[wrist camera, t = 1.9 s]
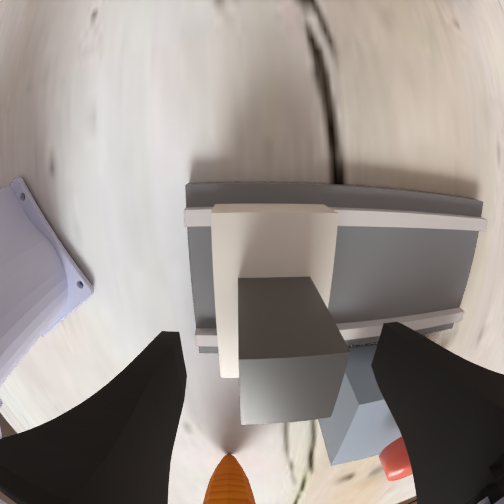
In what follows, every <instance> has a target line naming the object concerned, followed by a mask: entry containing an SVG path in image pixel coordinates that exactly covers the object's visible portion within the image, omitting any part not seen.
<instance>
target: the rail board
mask: <svg viewBox="0 0 504 504" xmlns="http://www.w3.org/2000/svg"><path fill="white" fill-rule="evenodd" d="M185 186H186V208H185V209H184V225H185V227H187V229H188V245H189V258H190V271H191V282H192V293H193V303H194V312H195V321H196V332H195V340H196V346H199V353H219V351H218V339H217V326H216V311H215V296H214V279H213V259H212V236H211V211H212V209H213V207H214V205H215V204H324V205H326V206H327V207H329V208H331V209H332V210H334V211H336V212H337V213H338V226H337V237H336V248H335V257H334V266H333V274H332V282H331V290H330V297H329V304H328V310H329V312H330V314H331V316H332V318H333V320H334V321H335V323H336V325H337V327H338V329H339V331H340V333H341V335H342V337H343V338H344V340H345V342H346V344H347V346H353V345H361V344H368V343H376V342H378V341H379V338H380V334H381V331H382V327H383V323H389V322H399V323H401V324H403V325H405V326H407V327H409V328H411V329H413V330H414V331H416V332H418V333H419V334H421V335H422V334H427V333H432V332H437V331H442V330H446V329H450V328H452V327H453V324H454V322H458V321H461V320H462V317H463V314H464V311H463V310H462V309H461V308H460V304H461V301H462V298H463V294H464V291H465V288H466V284H467V280H468V277H469V273H470V269H471V265H472V261H473V257H474V252H475V248H476V243H477V238H478V232H479V231H486V226H487V219H484V218H482V217H481V214H482V206H483V202H482V201H479V200H476V199H472V198H465V197H459V196H452V195H445V194H438V193H430V192H422V191H413V190H404V189H394V188H384V187H372V186H359V185H344V184H325V183H300V182H205V183H188V184H186V185H185Z"/></svg>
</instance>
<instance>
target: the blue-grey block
mask: <svg viewBox="0 0 504 504" xmlns="http://www.w3.org/2000/svg"><path fill="white" fill-rule="evenodd" d="M424 337H425V336H424ZM376 348H377V344H373V345H366V346H359V347H351V348H349V350H350V356H349V359H348V363H347V367H346V370H345V374H344V377H343V381H342V384H341V388H340V391H339V394H338V397H337V401H336V404H335V407H334V410H333V413H332V416H331V417H329V418H322V419H318V420H319V424H320V427H321V431H322V435H323V438H324V442H325V446H326V449H327V453H328V457H329V460H330V464H331V466H332V465H337V464H342V463H346V462H351V461H355V460H360V459H364V458H367V457H371V456H375V455H379V454H380V453H381V451H382V450H383V449H384V448H385V447H387V446H388V445H389V444H390V443H392V442H393V441H395V440H396V439H398V438H400V437H401V436H402V435H401V433H400V430H399V428H398V426H397V424H396V422H395V420H394V418H393V416H392V414H391V412H390V410H389V408H388V406H387V404H386V402H385V400H384V398H383V396H382V394H381V392H380V389H379V387H378V385H377V382H376V379H375V376H374V373H373V370H372V367H371V364H372V361H373V357H374V354H375V351H376Z"/></svg>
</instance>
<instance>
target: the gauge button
mask: <svg viewBox="0 0 504 504" xmlns="http://www.w3.org/2000/svg"><path fill="white" fill-rule="evenodd" d="M379 458H380V461H381V463H382V466H383V468H384V471H385V473H386V476H387V479H388V480H389V481H394V480H398V479H402V478H404V477H407V476H409V475H411V474H413V473H412V468H411V464H410V460H409V456H408V453H407V450H406V447H405V443H404V440H403V437H402V436H401V437H400V438H398V439H396V440H395V441H393V442H392V443H390V444H389V445H388V446H387V447H385V448H384V449H383V450H382V451H381V453H380V455H379Z"/></svg>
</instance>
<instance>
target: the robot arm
mask: <svg viewBox="0 0 504 504" xmlns="http://www.w3.org/2000/svg"><path fill="white" fill-rule="evenodd" d="M24 194H25V199H24ZM80 281H81V282H82V283H83V285H81V284H80ZM93 292H94V289H93V286H92V285H91V283H90V282H89V281H88V279H87V278H86V277H85V276H84V274H83V273H82V272H81V270H80V269H79V268H78V266H77V265H76V263H75V262H74V261H73V259H72V258H71V256H70V255H69V254H68V252H67V251H66V249H65V248H64V246H63V245H62V243H61V242H60V241H59V239H58V238H57V236H56V234H55V233H54V231H53V230H52V228H51V227H50V225H49V224H48V222H47V220H46V219H45V217H44V216H43V214H42V212H41V211H40V209H39V207H38V205H37V204H36V202H35V200H34V198H33V197H32V195H31V193H30V191H29V190H28V188H27V186H26V184H25V182H24V180H23V179H22V177H17V178H15V179H14V180H13V181H12V183H11V184H10V186H6V187H2V188H0V387H1V386H2V384H3V383H4V382H5V380H6V379H7V377H8V376H9V375H10V374H11V372H12V371H13V370H14V368H15V367H16V366H17V364H18V363H19V362H20V361H21V359H22V358H23V357H24V356H25V354H26V353H27V352H28V351H29V350H30V348H31V347H32V346H33V345H34V344H35V342H36V341H37V340H38V339H39V338H40V337H41V336H45V335H46V334H47V333H48V332H49V331H50V330H51V329H52V328H54V327H55V326H56V325H57V324H58V323H59V322H61V321H62V320H63V319H64V318H65V317H66V316H68V315H69V314H70V313H71V312H72V311H73V310H75V309H76V308H77V307H78V306H79V305H81V304H82V303H83V302H84V301H86V300H87V299H88V298H89V297H90V296H91V295H92V294H93ZM371 367H372V370H373V373H374V376H375V379H376V382H377V385H378V387H379V389H380V392H381V394H382V396H383V398H384V400H385V402H386V404H387V406H388V408H389V410H390V412H391V414H392V416H393V418H394V420H395V422H396V424H397V426H398V428H399V430H400V433H401V435H402V437H403V440H404V443H405V447H406V450H407V453H408V456H409V460H410V464H411V468H412V473H413V477H414V483H415V489H416V495H417V504H504V375H503V374H500V373H497V372H494V371H491V370H488V369H486V368H483V367H481V366H478V365H476V364H474V363H472V362H469V361H467V360H465V359H463V358H461V357H460V356H458V355H456V354H454V353H452V352H450V351H448V350H447V349H445V348H443V347H441V346H440V345H438V344H436V343H435V342H433V341H431V340H429V339H428V338H426V337H424V336H423V335H421V334H419V333H418V332H416V331H414V330H413V329H411V328H409V327H407V326H405V325H403V324H401V323H399V322H389V323H383V327H382V331H381V334H380V338H379V341H378V344H377V348H376V351H375V354H374V357H373V361H372V364H371ZM186 379H187V374H186V368H185V363H184V358H183V352H182V346H181V340H180V334H179V332H167V331H162V332H161V333H160V334H159V335H158V336H157V337H156V338H155V339H154V340H153V341H152V342H151V343H150V344H149V345H148V346H147V347H146V348H145V349H144V350H143V351H142V352H141V353H140V354H139V355H138V356H137V357H136V358H135V359H134V360H133V361H132V362H131V363H130V364H129V365H128V366H127V367H126V368H125V369H124V370H123V371H122V372H120V373H119V374H118V375H117V376H116V377H115V378H114V379H113V380H111V381H110V382H109V383H108V384H107V385H106V386H104V387H103V388H102V389H101V390H99V391H98V392H97V393H95V394H94V395H92V396H91V397H90V398H88V399H87V400H85V401H84V402H82V403H81V404H79V405H78V406H76V407H74V408H72V409H71V410H69V411H67V412H66V413H64V414H62V415H60V416H59V417H57V418H55V419H53V420H51V421H49V422H46V423H44V424H42V425H40V426H37V427H35V428H32V429H30V430H27V431H24V432H22V433H18V434H15V435H11V436H8V437H5V438H1V428H0V491H1V492H2V493H4V494H5V495H6V496H7V497H9V498H10V499H12V500H13V501H14V502H16V503H17V504H168V484H169V472H170V461H171V455H172V450H173V445H174V441H175V437H176V433H177V428H178V424H179V420H180V416H181V411H182V407H183V403H184V397H185V388H186ZM2 404H3V403H2V401H1V399H0V407H1V406H2ZM0 504H6V503H5V502H4V501H2V500H1V499H0Z"/></svg>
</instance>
